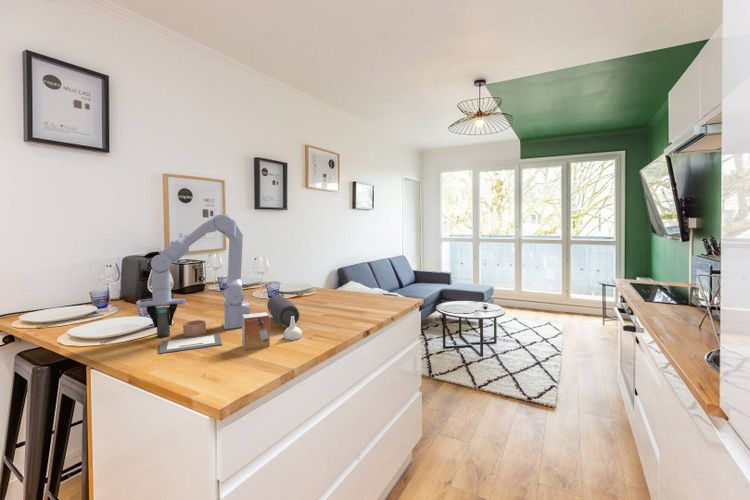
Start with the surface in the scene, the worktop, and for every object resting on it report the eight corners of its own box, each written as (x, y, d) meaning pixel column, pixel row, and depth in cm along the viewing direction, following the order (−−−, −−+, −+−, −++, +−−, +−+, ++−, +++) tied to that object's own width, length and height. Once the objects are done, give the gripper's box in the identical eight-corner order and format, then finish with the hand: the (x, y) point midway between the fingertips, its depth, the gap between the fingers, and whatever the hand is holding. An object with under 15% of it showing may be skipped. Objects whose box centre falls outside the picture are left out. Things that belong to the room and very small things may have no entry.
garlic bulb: (284, 337, 126) (281, 315, 125) (301, 334, 127) (299, 313, 127) (284, 342, 120) (281, 320, 119) (302, 339, 121) (300, 317, 121)
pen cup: (205, 329, 133) (205, 319, 132) (206, 334, 126) (205, 324, 126) (183, 332, 129) (183, 321, 129) (183, 337, 123) (182, 326, 123)
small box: (244, 350, 111) (243, 318, 110) (242, 345, 116) (241, 314, 115) (270, 346, 114) (269, 315, 114) (267, 341, 119) (266, 311, 118)
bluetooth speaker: (265, 317, 151) (265, 294, 150) (287, 315, 155) (287, 292, 154) (276, 331, 130) (276, 305, 130) (301, 328, 135) (300, 303, 134)
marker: (170, 332, 128) (169, 306, 127) (169, 336, 124) (168, 308, 123) (157, 334, 126) (156, 307, 125) (156, 337, 122) (155, 309, 122)
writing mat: (219, 334, 127) (219, 332, 127) (221, 345, 116) (221, 343, 116) (162, 341, 119) (161, 340, 119) (158, 354, 107) (158, 352, 107)
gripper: (185, 285, 131) (186, 320, 132) (138, 288, 124) (140, 325, 125) (184, 288, 124) (186, 325, 125) (135, 291, 118) (137, 330, 119)
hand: (163, 325), depth 125 cm, fingers closed on marker, 4 cm apart
